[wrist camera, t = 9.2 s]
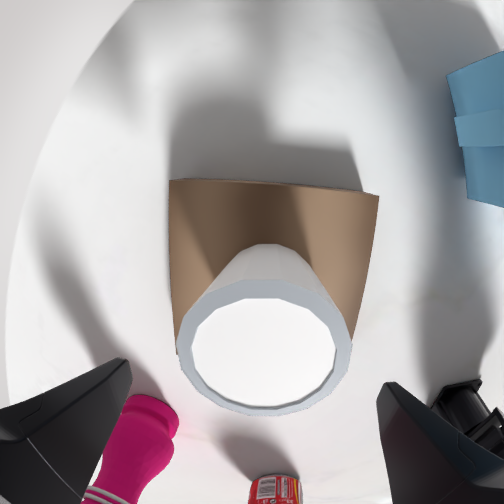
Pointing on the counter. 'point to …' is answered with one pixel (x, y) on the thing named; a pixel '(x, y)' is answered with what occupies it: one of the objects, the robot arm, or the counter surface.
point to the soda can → (276, 490)
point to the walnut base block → (269, 235)
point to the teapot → (481, 126)
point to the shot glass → (265, 335)
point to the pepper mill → (134, 451)
